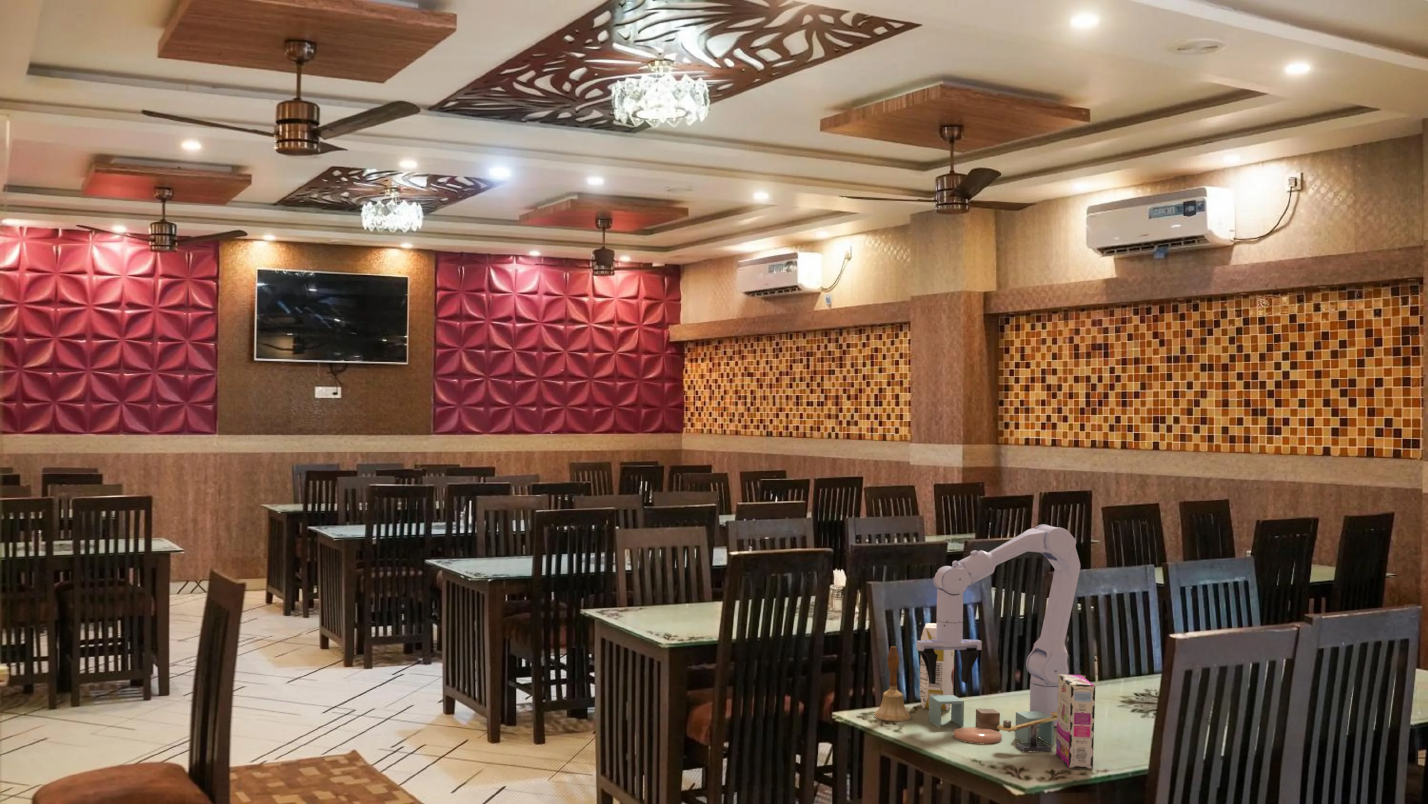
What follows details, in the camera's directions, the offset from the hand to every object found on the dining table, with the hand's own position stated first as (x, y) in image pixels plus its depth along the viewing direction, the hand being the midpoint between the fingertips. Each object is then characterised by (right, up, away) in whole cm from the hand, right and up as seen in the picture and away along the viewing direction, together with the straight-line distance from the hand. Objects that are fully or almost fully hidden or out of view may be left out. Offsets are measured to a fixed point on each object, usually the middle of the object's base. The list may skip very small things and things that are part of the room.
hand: (948, 682), depth 278 cm
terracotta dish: (+4, -9, -11) cm, 15 cm away
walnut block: (+8, -10, -3) cm, 13 cm away
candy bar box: (+20, -10, -29) cm, 36 cm away
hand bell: (-12, -9, +6) cm, 16 cm away
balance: (+14, -9, -20) cm, 26 cm away
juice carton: (0, -10, +17) cm, 20 cm away
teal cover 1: (0, -9, +1) cm, 9 cm away
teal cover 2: (+16, -10, -13) cm, 23 cm away
